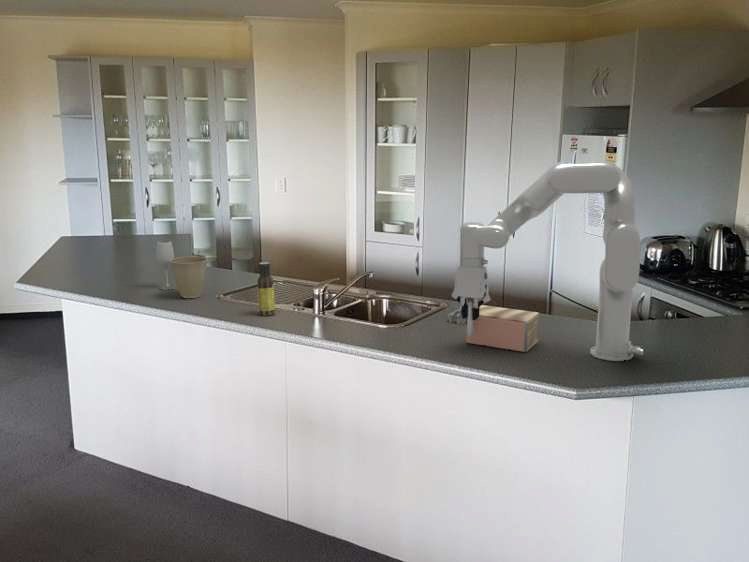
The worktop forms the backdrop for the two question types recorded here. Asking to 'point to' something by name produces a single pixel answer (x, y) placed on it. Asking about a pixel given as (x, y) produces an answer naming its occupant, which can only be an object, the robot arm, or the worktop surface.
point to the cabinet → (514, 319)
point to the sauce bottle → (265, 290)
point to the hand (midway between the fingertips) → (470, 318)
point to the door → (496, 332)
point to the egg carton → (457, 317)
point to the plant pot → (189, 274)
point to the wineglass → (164, 255)
